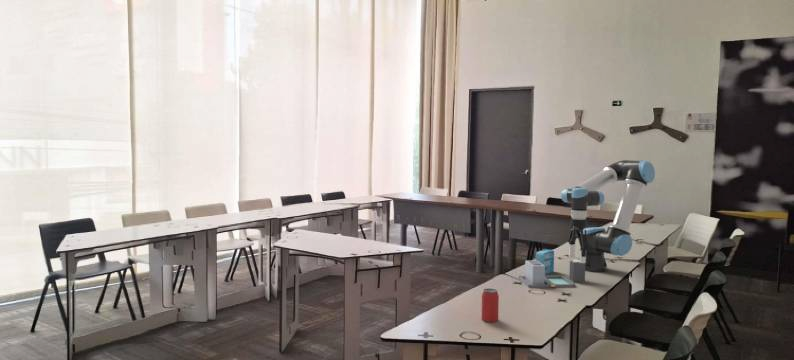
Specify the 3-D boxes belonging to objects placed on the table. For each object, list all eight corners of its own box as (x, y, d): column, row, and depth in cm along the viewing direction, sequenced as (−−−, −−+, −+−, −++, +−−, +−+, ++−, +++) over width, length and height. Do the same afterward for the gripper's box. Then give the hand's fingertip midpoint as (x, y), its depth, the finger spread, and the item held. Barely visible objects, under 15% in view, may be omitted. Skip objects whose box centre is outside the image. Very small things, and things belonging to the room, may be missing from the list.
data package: (542, 275, 279) (543, 253, 278) (535, 274, 282) (535, 252, 281) (553, 271, 287) (554, 250, 287) (546, 270, 291) (546, 248, 290)
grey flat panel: (562, 278, 274) (562, 275, 274) (576, 288, 255) (576, 285, 255) (518, 278, 272) (518, 276, 272) (529, 289, 254) (530, 286, 254)
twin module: (536, 279, 270) (537, 259, 270) (544, 286, 258) (544, 265, 258) (525, 279, 270) (525, 259, 269) (532, 286, 258) (532, 265, 257)
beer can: (479, 317, 213) (480, 288, 212) (495, 316, 214) (496, 287, 213) (483, 322, 207) (484, 292, 206) (500, 322, 207) (500, 292, 206)
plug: (580, 279, 271) (581, 259, 270) (584, 282, 266) (585, 261, 265) (569, 279, 271) (569, 259, 270) (573, 282, 266) (573, 262, 265)
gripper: (562, 215, 278) (560, 254, 280) (581, 222, 253) (579, 265, 255) (576, 215, 279) (574, 254, 280) (596, 222, 254) (594, 265, 255)
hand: (577, 260), depth 267 cm, fingers open, 13 cm apart
